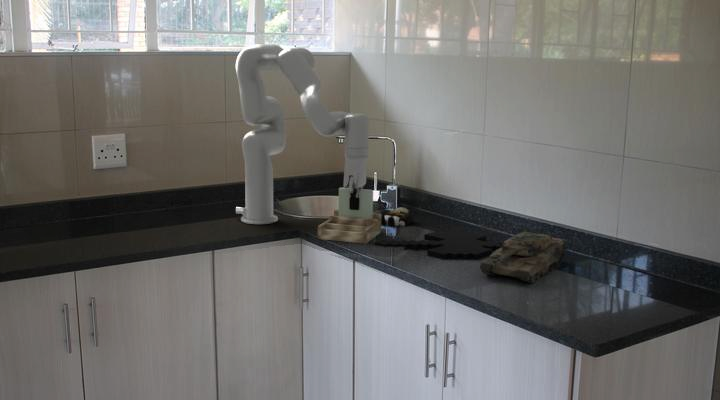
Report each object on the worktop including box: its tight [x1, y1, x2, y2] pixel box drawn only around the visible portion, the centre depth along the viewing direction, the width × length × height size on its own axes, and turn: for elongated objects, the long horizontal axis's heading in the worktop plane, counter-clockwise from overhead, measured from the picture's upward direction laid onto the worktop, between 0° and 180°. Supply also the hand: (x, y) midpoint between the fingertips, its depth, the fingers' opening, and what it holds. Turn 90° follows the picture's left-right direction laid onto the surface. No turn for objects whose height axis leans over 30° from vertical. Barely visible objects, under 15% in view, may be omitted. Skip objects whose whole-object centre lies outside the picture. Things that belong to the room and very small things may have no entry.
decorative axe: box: [374, 230, 503, 261], centre depth 251 cm, size 32×2×30 cm
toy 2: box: [479, 231, 568, 284], centre depth 224 cm, size 13×37×10 cm, turn 146°
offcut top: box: [338, 216, 366, 226], centre depth 259 cm, size 8×4×2 cm, turn 76°
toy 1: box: [378, 206, 414, 228], centre depth 279 cm, size 12×8×15 cm
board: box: [337, 187, 374, 219], centre depth 264 cm, size 11×2×14 cm, turn 72°
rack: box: [317, 209, 382, 244], centre depth 259 cm, size 16×16×7 cm
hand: (355, 208), depth 263 cm, fingers closed on board, 2 cm apart
